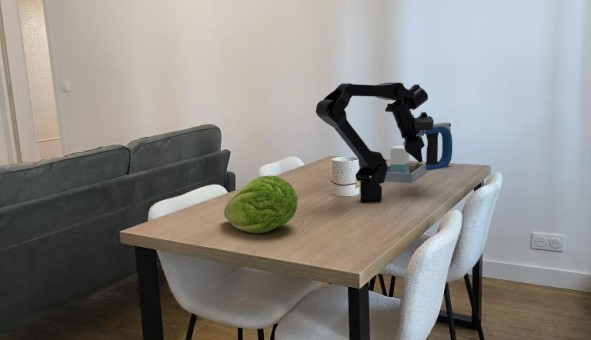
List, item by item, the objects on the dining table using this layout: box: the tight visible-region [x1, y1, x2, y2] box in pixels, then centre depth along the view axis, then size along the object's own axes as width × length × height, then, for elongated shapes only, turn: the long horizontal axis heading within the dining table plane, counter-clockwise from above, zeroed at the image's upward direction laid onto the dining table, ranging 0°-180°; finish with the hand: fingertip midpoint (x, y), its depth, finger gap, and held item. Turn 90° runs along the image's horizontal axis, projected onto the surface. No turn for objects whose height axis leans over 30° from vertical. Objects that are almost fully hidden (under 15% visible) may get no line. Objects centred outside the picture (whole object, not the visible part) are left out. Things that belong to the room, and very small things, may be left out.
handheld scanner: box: [417, 121, 453, 171], centre depth 208 cm, size 4×16×19 cm, turn 115°
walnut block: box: [409, 161, 419, 173], centre depth 201 cm, size 6×8×4 cm
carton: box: [390, 145, 410, 173], centre depth 193 cm, size 6×6×12 cm
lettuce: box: [223, 175, 299, 234], centre depth 142 cm, size 15×25×16 cm
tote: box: [384, 162, 427, 184], centre depth 197 cm, size 20×13×4 cm, turn 151°
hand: (419, 156), depth 174 cm, fingers open, 9 cm apart
